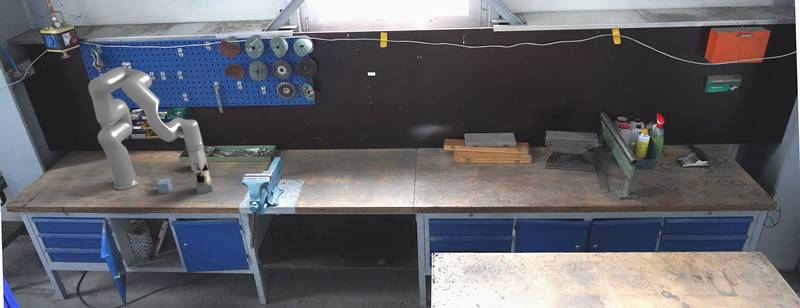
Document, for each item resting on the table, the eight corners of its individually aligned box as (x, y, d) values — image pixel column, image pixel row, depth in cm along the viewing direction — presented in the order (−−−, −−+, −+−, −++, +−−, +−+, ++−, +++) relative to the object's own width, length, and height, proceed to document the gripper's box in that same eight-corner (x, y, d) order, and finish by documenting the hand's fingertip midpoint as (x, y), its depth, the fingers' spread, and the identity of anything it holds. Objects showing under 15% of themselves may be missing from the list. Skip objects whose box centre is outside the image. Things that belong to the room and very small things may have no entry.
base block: (198, 194, 265) (196, 187, 263) (197, 187, 271) (195, 180, 269) (213, 191, 267) (211, 184, 265) (212, 184, 273) (210, 177, 271)
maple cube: (197, 185, 265) (195, 176, 262) (200, 180, 269) (197, 171, 267) (208, 184, 265) (205, 175, 263) (210, 179, 269) (208, 170, 267)
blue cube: (159, 193, 268) (156, 184, 265) (162, 188, 272) (159, 179, 270) (169, 192, 268) (167, 183, 266) (172, 187, 272) (169, 178, 270)
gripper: (191, 138, 265) (199, 169, 274) (181, 155, 250) (190, 188, 258) (207, 136, 266) (215, 168, 274) (198, 153, 250) (207, 186, 259)
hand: (203, 177), depth 266 cm, fingers open, 7 cm apart
